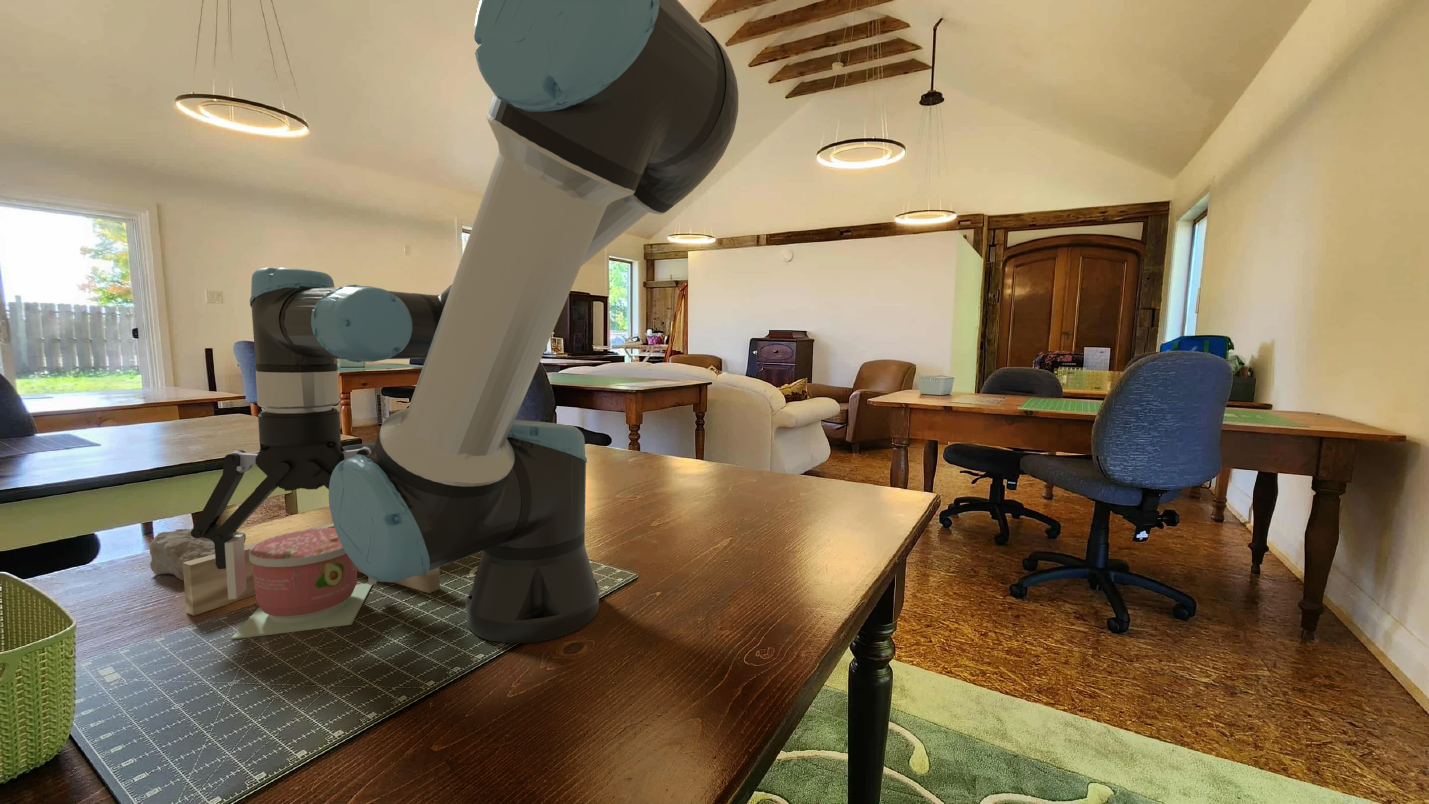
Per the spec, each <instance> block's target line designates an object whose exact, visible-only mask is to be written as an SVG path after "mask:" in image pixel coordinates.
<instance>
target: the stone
mask: <svg viewBox="0 0 1429 804" xmlns="http://www.w3.org/2000/svg"><path fill="white" fill-rule="evenodd" d="M192 529H193V528H191V529H188V528H177V529H175V530H173V531H162V532H160V533H157V535H155V537H154V538H153V540H152V541H151V542H150V545H149V553H150V554H149V555H150V556H151V561H150V564H149V566H150V570H151V572H153V574H155V575H160V576H161V575H174V576H175V577H176V578H177V579H179V580H180V581H184V574H183V562H187V561H191V560H194V559H198V558H202V557H205V556H209V555H213V554H215V545H214V542H213V541H212V540H210V539H207V538H202V537H201V538H194V537H192V536H191V531H192ZM235 535H244V544H245V543H246V540H247V539H246V537H247V536H246V535H247V534H246V533H244V532H240V531H238V530H236V532H235V533H233V537H234V536H235Z"/></svg>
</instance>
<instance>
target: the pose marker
mask: <svg viewBox="0 0 1429 804" xmlns="http://www.w3.org/2000/svg"><path fill="white" fill-rule="evenodd" d="M373 585H374V584H372V585H369V582H368V583H359V584H356V586H355V588H354V591H353V593H352V595H351V596H350V597H349V598H348V601H347V604H346V605H345V606H344V607H343V608H342V609H340V610H339V611H337V612H335V613H333V614H330V615H328V616H326V617H322V618H319V619H316V620H312V621H307V622H301V623H277V622H274V621H272V620H271V619H270V618H269V614H266V613H264V612H263V611H262V609H261V608H260V606H258V608H257V609H256V610H254V612H253V613H252V614H251V615H250V616H249V618H247V620H246V621H245V622H244V623H243V624H242V625H241V627H239V628H238V630H237V631H236V632H235V633H234V634H233V635H232V636H231V639H230V640H238V639H245V638H246V639H247V638H254V637H255V638H256V637H262V636H269V635H271V636H272V635H279V634H280V635H281V634H286V633H287V634H288V633H296V632H301V631H302V632H304V631H310V630H311V631H312V630H319V629H320V630H321V629H327V628H333V627H342V626H351V625H353V623H354V621H355V619H356V617H357V615H358V614H359V612H360V610H361V608H362V606H363V604H364V603H365V600H366V599H367V596H368V595H369V592H370V591H371V590H372V587H373Z"/></svg>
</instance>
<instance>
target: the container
mask: <svg viewBox="0 0 1429 804" xmlns="http://www.w3.org/2000/svg"><path fill="white" fill-rule="evenodd" d="M308 529H309V528H308ZM261 541H262V542H261ZM261 541H259V542H260V543H258V544H256V545H255V546H253V547H252V548H251V549H250V551H249V561H250V562H252V563H253V568H252V569H253V578H254V586H255V594H256V595H255V599H256V600H255V601H256V603H257V605H258V607H260V608H261V609H262V611H263V612H264V613H266V614H269V618H270V619H271V620H272V621H274V622H277V623H301V622H307V621H312V620H316V619H319V618H322V617H326V616H328V615H330V614H333V613H335V612H337V611H339V610H340V609H342V608H343V607H344V606H345V605H346V604H347V601H348V598H349V597H350V596H351V595H352V593H353V591H354V588H355V586H356V585H358V584H357V583H358V572H357V567H356V566H355V565H354V563H353V562H352V561H351V560H350V558H349V557H348V555H347V554H346V552H345V550H344V548H343V546H342V545H341V543H340V540H339V538H338V536H337V533H336V530H335V528H319V529H309V530H306V529H303V530H297V531H292V532H287V533H283V534H280V535H275V536H273V537H269V538H267V539H264V540H261Z"/></svg>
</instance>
